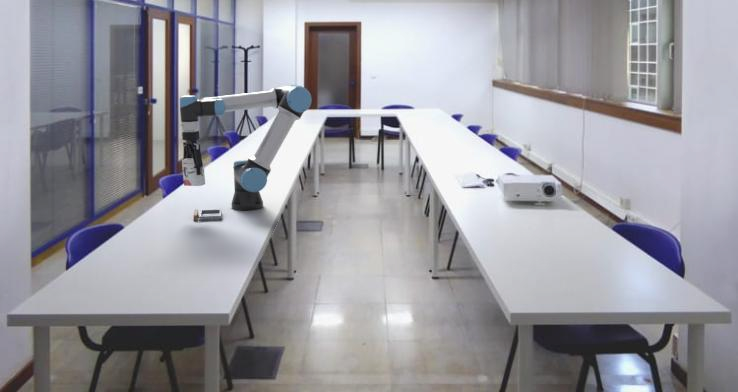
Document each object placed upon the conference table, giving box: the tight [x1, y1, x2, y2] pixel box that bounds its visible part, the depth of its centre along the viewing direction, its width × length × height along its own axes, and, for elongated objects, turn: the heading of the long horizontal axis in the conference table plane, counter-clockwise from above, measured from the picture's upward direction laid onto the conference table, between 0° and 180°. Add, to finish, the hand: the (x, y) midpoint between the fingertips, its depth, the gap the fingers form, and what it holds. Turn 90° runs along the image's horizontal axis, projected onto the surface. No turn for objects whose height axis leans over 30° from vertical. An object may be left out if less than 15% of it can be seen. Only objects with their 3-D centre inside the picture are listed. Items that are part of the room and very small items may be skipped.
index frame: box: [198, 208, 222, 222], centre depth 323 cm, size 10×14×2 cm
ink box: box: [181, 157, 206, 187], centre depth 319 cm, size 9×5×12 cm, turn 75°
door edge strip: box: [192, 209, 199, 222], centre depth 322 cm, size 2×12×2 cm, turn 11°
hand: (194, 180), depth 320 cm, fingers closed on ink box, 9 cm apart
